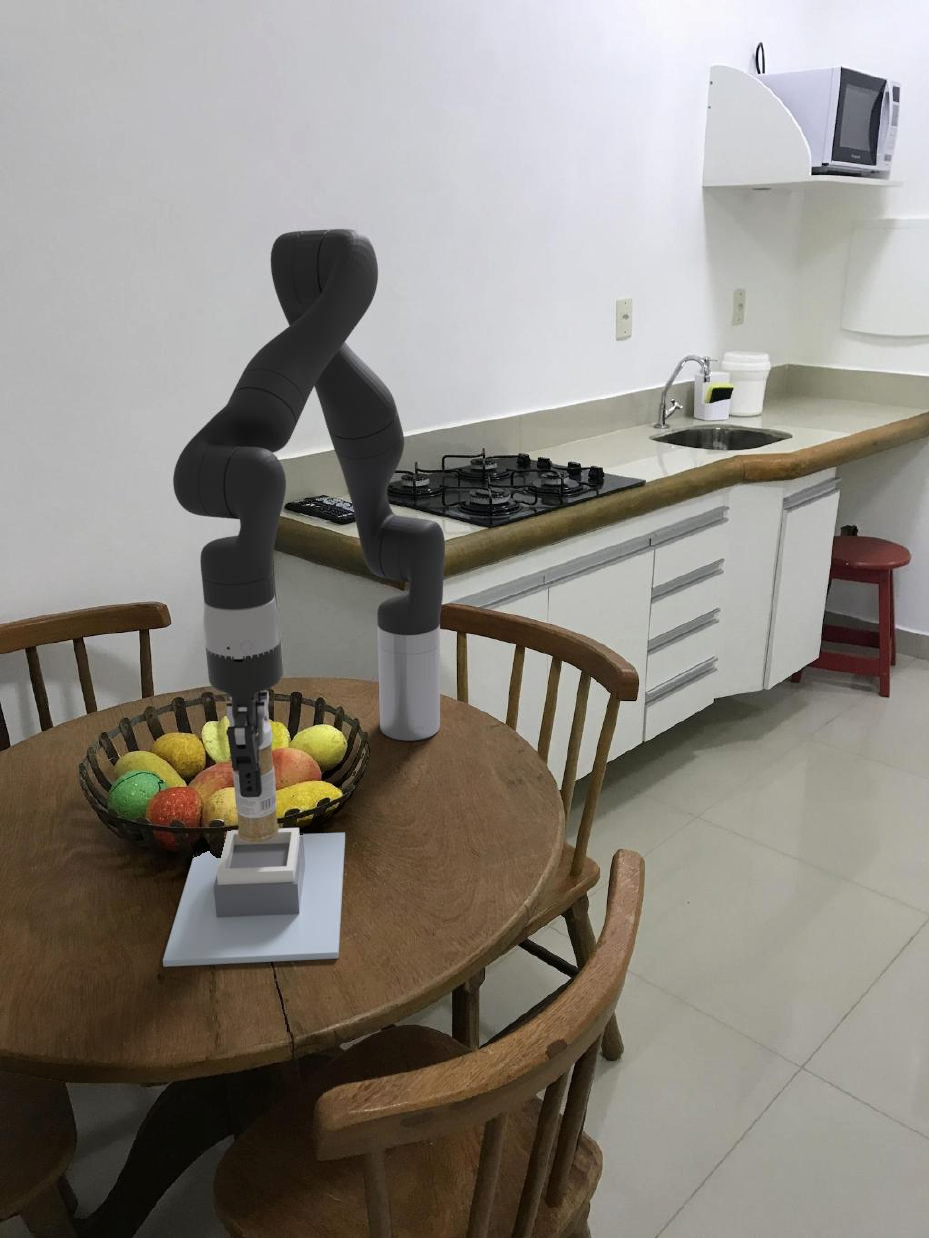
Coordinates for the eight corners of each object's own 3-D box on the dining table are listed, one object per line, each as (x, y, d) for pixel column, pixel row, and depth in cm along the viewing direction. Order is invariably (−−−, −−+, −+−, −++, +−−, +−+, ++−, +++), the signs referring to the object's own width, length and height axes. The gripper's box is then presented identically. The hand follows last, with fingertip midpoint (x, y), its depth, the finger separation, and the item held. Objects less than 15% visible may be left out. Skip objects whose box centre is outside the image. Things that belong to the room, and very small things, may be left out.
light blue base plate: (199, 843, 122) (195, 799, 119) (345, 837, 123) (343, 794, 121) (163, 966, 101) (157, 916, 99) (338, 958, 103) (336, 909, 100)
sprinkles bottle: (266, 817, 112) (258, 712, 107) (286, 835, 109) (279, 727, 104) (230, 831, 109) (220, 724, 105) (249, 850, 106) (240, 740, 101)
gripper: (216, 614, 107) (228, 752, 113) (193, 668, 94) (208, 821, 100) (285, 613, 107) (294, 750, 114) (272, 666, 94) (283, 818, 100)
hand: (254, 782), depth 107 cm, fingers closed on sprinkles bottle, 4 cm apart
